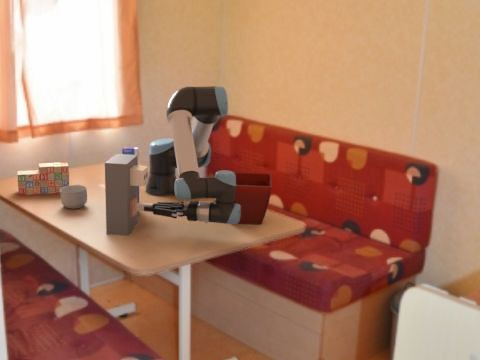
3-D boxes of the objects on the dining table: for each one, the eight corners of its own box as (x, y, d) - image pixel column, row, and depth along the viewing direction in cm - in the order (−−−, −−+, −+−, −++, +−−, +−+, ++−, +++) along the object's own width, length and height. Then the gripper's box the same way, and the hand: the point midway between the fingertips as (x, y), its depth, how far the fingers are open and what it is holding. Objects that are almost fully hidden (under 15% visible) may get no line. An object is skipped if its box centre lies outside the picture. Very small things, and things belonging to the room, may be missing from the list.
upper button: (148, 181, 239) (148, 166, 237) (143, 186, 233) (143, 170, 232) (126, 180, 240) (126, 164, 238) (122, 184, 234) (121, 169, 232)
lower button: (138, 211, 243) (137, 196, 241) (133, 216, 237) (133, 201, 235) (117, 210, 244) (116, 195, 242) (112, 215, 238) (111, 199, 236)
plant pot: (223, 210, 266) (224, 171, 262) (269, 212, 266) (271, 173, 261) (220, 226, 248) (221, 184, 243) (269, 228, 248) (272, 186, 243)
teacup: (80, 212, 258) (79, 193, 256) (55, 209, 260) (54, 190, 258) (94, 201, 271) (94, 183, 269) (71, 199, 273) (70, 181, 271)
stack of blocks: (18, 195, 276) (16, 168, 273) (18, 191, 282) (16, 164, 278) (69, 192, 283) (68, 165, 279) (68, 188, 288) (67, 161, 285)
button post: (138, 222, 248) (137, 155, 241) (127, 235, 235) (126, 164, 227) (118, 221, 249) (116, 153, 242) (106, 233, 236) (104, 162, 228)
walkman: (122, 171, 317) (122, 148, 314) (122, 170, 320) (122, 147, 317) (138, 171, 319) (138, 148, 316) (138, 170, 322) (138, 146, 318)
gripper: (195, 226, 231) (131, 222, 234) (201, 215, 244) (141, 210, 246) (195, 207, 229) (131, 202, 232) (202, 196, 242) (141, 192, 244)
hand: (136, 206), depth 239 cm, fingers closed
